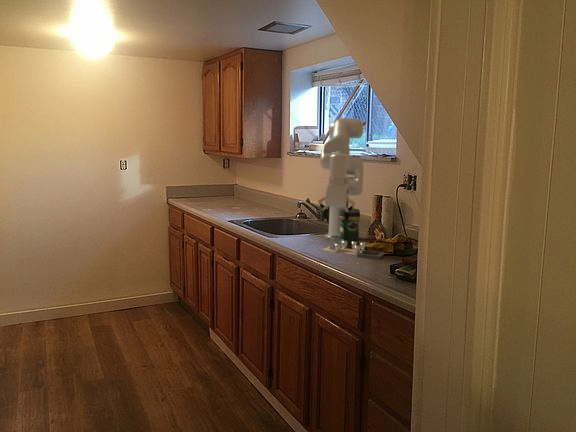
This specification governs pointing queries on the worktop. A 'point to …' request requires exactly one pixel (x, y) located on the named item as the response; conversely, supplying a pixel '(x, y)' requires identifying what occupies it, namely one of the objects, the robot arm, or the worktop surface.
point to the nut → (334, 242)
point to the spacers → (354, 247)
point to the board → (347, 251)
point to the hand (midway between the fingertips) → (335, 219)
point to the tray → (370, 254)
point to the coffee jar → (349, 227)
